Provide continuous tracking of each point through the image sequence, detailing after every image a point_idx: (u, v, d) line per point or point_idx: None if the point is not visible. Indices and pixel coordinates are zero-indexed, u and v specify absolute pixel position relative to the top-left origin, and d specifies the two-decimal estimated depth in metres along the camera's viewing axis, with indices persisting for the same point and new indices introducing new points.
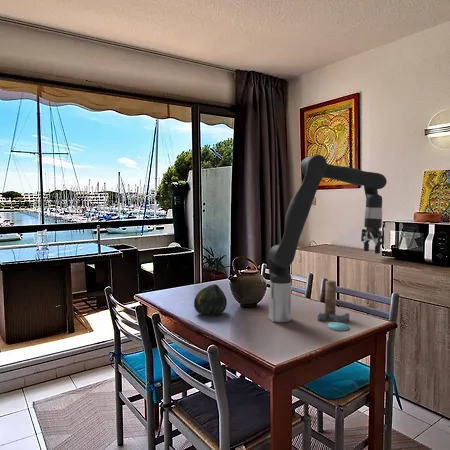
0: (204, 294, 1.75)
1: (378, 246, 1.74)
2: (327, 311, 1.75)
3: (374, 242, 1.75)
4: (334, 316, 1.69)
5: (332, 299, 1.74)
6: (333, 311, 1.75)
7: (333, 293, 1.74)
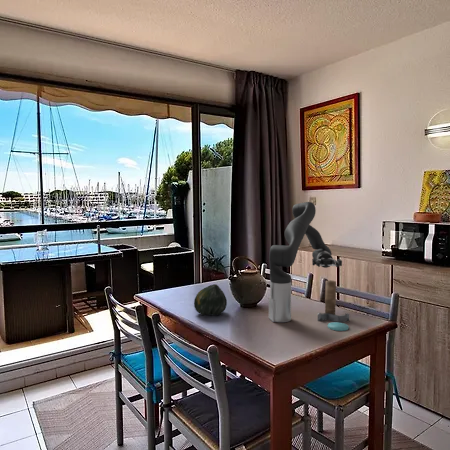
0: (204, 294, 1.75)
1: (338, 263, 1.88)
2: (327, 311, 1.75)
3: (334, 260, 1.90)
4: (334, 316, 1.69)
5: (332, 299, 1.74)
6: (333, 311, 1.75)
7: (333, 293, 1.74)
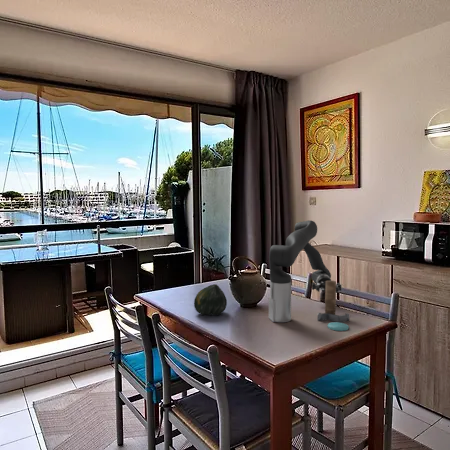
0: (204, 294, 1.75)
1: (337, 288, 1.89)
2: (327, 311, 1.75)
3: None
4: (334, 316, 1.69)
5: (332, 299, 1.74)
6: (333, 311, 1.75)
7: (333, 293, 1.74)
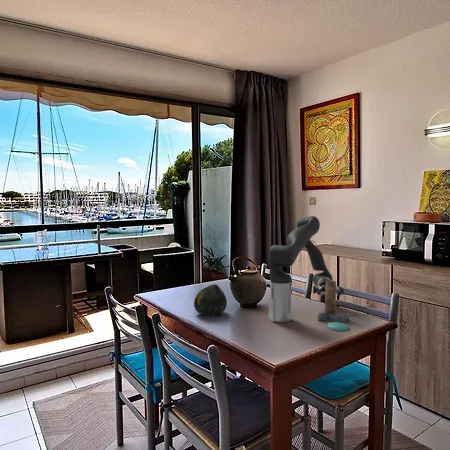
0: (204, 294, 1.75)
1: None
2: (327, 311, 1.75)
3: (336, 288, 1.83)
4: (334, 316, 1.69)
5: (332, 299, 1.74)
6: (333, 311, 1.75)
7: (333, 293, 1.74)
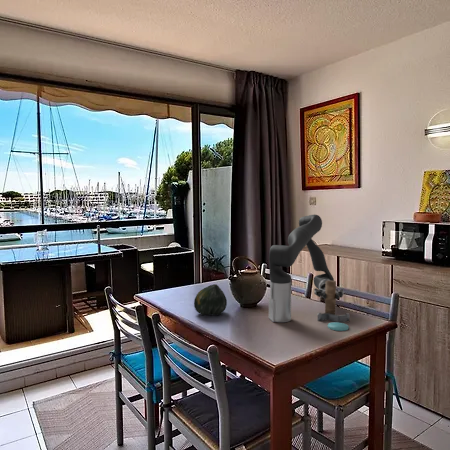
0: (204, 294, 1.75)
1: None
2: (327, 311, 1.75)
3: None
4: (334, 316, 1.69)
5: (332, 299, 1.74)
6: (333, 311, 1.75)
7: (333, 293, 1.74)
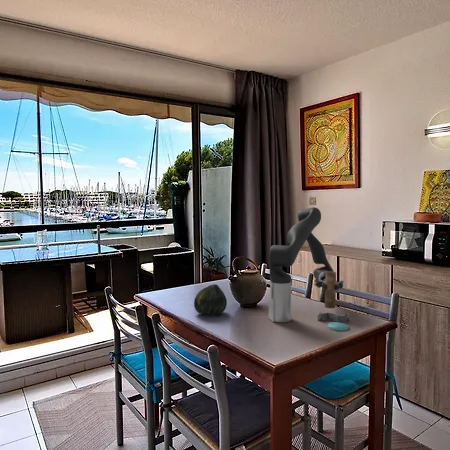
0: (204, 294, 1.75)
1: None
2: (327, 302, 1.74)
3: None
4: (334, 316, 1.69)
5: (332, 290, 1.73)
6: (333, 302, 1.74)
7: (333, 284, 1.73)
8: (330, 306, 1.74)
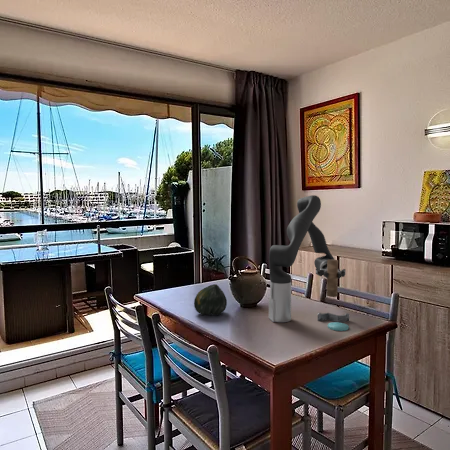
0: (204, 294, 1.75)
1: (340, 274, 1.72)
2: (329, 290, 1.71)
3: None
4: (334, 316, 1.69)
5: (334, 278, 1.70)
6: (335, 290, 1.70)
7: (335, 272, 1.69)
8: (332, 295, 1.70)
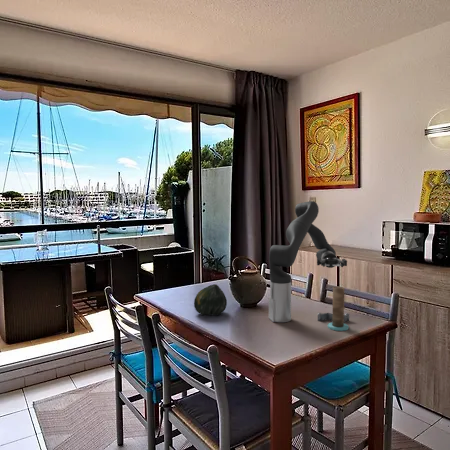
0: (204, 294, 1.75)
1: (343, 263, 1.87)
2: (335, 320, 1.60)
3: (339, 260, 1.88)
4: None
5: (340, 307, 1.58)
6: (341, 320, 1.59)
7: (341, 301, 1.58)
8: (338, 325, 1.59)
